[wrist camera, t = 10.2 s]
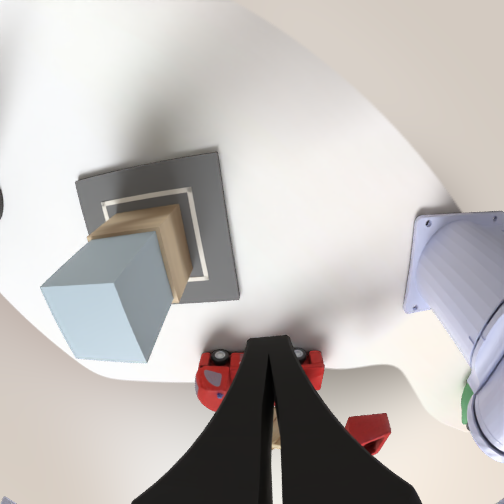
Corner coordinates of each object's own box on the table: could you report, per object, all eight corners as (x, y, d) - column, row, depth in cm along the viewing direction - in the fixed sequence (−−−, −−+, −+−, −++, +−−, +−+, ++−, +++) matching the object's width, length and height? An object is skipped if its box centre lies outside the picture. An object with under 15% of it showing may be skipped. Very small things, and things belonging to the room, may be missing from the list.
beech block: (179, 203, 18) (159, 226, 14) (192, 268, 20) (179, 302, 16) (116, 213, 18) (86, 237, 14) (133, 273, 20) (111, 305, 16)
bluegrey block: (173, 298, 16) (147, 363, 11) (112, 301, 16) (76, 358, 12) (155, 230, 14) (113, 282, 10) (91, 239, 14) (39, 287, 10)
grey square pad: (217, 151, 17) (216, 152, 16) (239, 296, 21) (239, 300, 21) (77, 180, 17) (74, 181, 17) (115, 303, 22) (113, 306, 21)
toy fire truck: (197, 347, 23) (174, 449, 15) (362, 342, 23) (396, 438, 14) (203, 373, 25) (185, 468, 16) (355, 368, 24) (381, 459, 16)
